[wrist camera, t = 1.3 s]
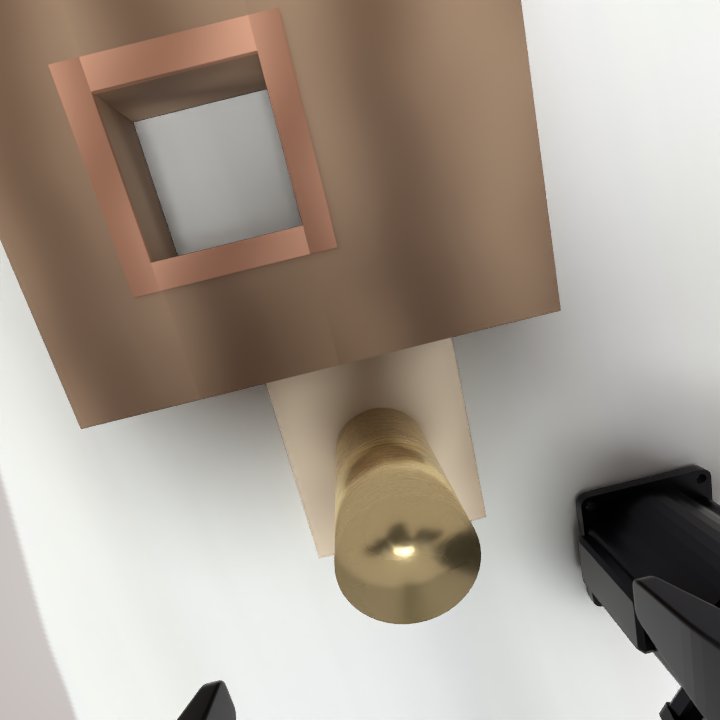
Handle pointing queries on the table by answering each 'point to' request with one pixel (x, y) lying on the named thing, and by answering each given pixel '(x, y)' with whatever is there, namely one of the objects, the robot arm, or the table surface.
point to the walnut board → (287, 247)
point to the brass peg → (398, 523)
